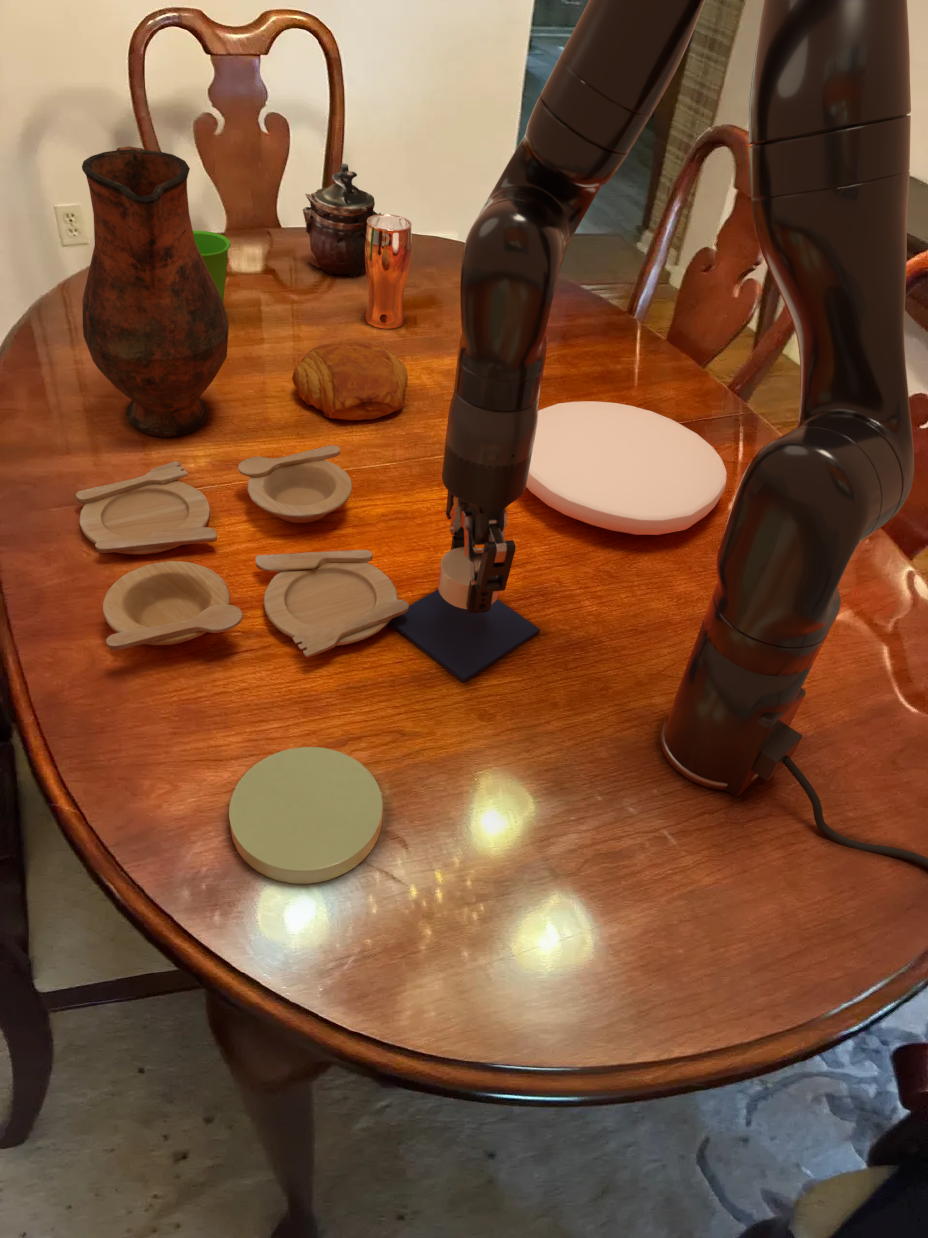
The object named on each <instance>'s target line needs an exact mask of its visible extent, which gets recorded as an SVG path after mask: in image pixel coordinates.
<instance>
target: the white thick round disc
mask: <svg viewBox="0 0 928 1238" xmlns="http://www.w3.org/2000/svg"><path fill="white" fill-rule="evenodd" d="M727 473H728V472H727V469H726V467H725V463H724V460H723V458H722V457H721V456H720V455H719V454H718V452H717V451H716V449H715V448H714V446H712V445H711V444H710V443H709V442H708V441H706V439H704V438H703V437H701V435H699V434H698V433H696V432H695V431H693V430H691V429H689V428H688V427H686V426H685V425H683V424H681V423H679V422H678V421H676V420H673V419H672V418H669V417H667V416H664V415H662V414H659V413H657V412H655V411H652V410H648V409H644V408H640V407H638V406H634V405H629V404H623V403H618V402H611V401H609V402H608V401H597V400H596V401H595V400H594V401H593V400H592V401H591V400H590V401H589V400H587V401H584V400H583V401H569V402H568V401H567V402H560V403H559V402H558V403H556V404H553V405H550V406H547V407H544V408H541V409H538V422H537V429H536V434H535V440H534V445H533V451H532V456H531V462H530V468H529V473H528V479H527V484H526V488H527V490H528V491H530V493H532V494H533V495H534V496H535V497H537V498H538V499H539V500H540V501H542V503H544V504H546V506H548V507H550V508H551V509H553V510H555V511H557V512H559V513H561V514H562V515H564V516H567V517H569V518H572V519H575V520H578V521H580V522H583V523H586V524H588V525H591V526H593V527H594V526H595V527H598V528H602V529H606V530H609V531H614V532H618V533H619V532H620V533H625V534H631V535H637V536H638V535H640V536H641V535H643V536H645V535H646V536H647V535H650V536H651V535H652V536H653V535H654V536H659V535H665V534H670V533H676V532H680V531H685V530H687V529H690V527H692V526H693V525H695V524H696V523H698V522H699V521H700V520H702V519H704V518H705V517H706V516H707V515H709V513H710V512H712V510H713V509H714V508H715V507H716V505H717V504H718V503H719V501H720V499H721V497H722V496H723V494H724V492H725V490H726V488H727V487H726V486H727Z"/></svg>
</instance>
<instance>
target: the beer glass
mask: <svg viewBox="0 0 928 1238" xmlns="http://www.w3.org/2000/svg"><path fill="white" fill-rule="evenodd" d="M378 214H379V213H378ZM412 225H413V224H412V221H411V220H409V219H408V218H407V217H403V216H400V215H396V214H387V213H383V214H382V213H381V214H379V215H373V216H371V217H369V218H368V219H367V226H366V234H365V247H364V259H365V269H366V270H365V276H366V282H367V290H368V291H367V292H368V300H367V307H366V310H365V315H364V316H365V317H364V319H365V322H366V323H367V324H368V325H370V326H372V327H374V328H378V329H382V330H383V329H384V330H391V329H397V328H400V327H402V326H403V325H404V323H405V314H404V294H405V290H406V289H405V288H406V285H407V281H408V276H409V272H410V267H411V261H412V249H413V248H412V247H413V246H412V245H413V243H412V242H413V241H412V237H413V236H412Z"/></svg>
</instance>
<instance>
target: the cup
mask: <svg viewBox="0 0 928 1238" xmlns="http://www.w3.org/2000/svg"><path fill="white" fill-rule="evenodd" d="M193 234H194V239H195V243H196V245H197V247H198V250H199V252H200V254H201V256H202V258H203V261H204V263H205V265H206V267H207V269H208V271H209V273H210V275H211V277H212V279H213V281H214V283H215V285H216V287H217V289H218V291H219V293H220V296H221V299H222V302H223V303H224V300H225V289H226V288H225V287H226V277H227V266H228V255H229V249H230V248H231V241H230V239H229V238H227V237H226V236H225V235H222V234H221V233H217V232H213V231H207V230H193Z"/></svg>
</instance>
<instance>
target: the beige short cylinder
mask: <svg viewBox="0 0 928 1238" xmlns="http://www.w3.org/2000/svg"><path fill="white" fill-rule="evenodd" d="M473 549H474V550H482V547H476V546H475V547H473ZM480 562H481V561H480ZM480 562H479V564H478V570H479V567H480ZM469 583H470V560H468V559H467V558H466V557H465V553H464V547H459V548H455V549H452V550H451V549H450V550H448V551H447V552H446V553H445V554H443V556H442V558H441V560H440V566H439V574H438V584H437V587H438V588H437V590H439V593H440V595H441V596H442V598H443V599H444V600H445V601H447V602H448V603H449V604H451V605H453V606H456V607H458V608H462V609H467V607H466V604H467V597H468V590H469ZM500 592H501V591H494V592H493V596H492V602H491V605H492V604H493V603H494V602H495V601H496V600H497V599H499V596H500Z"/></svg>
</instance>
